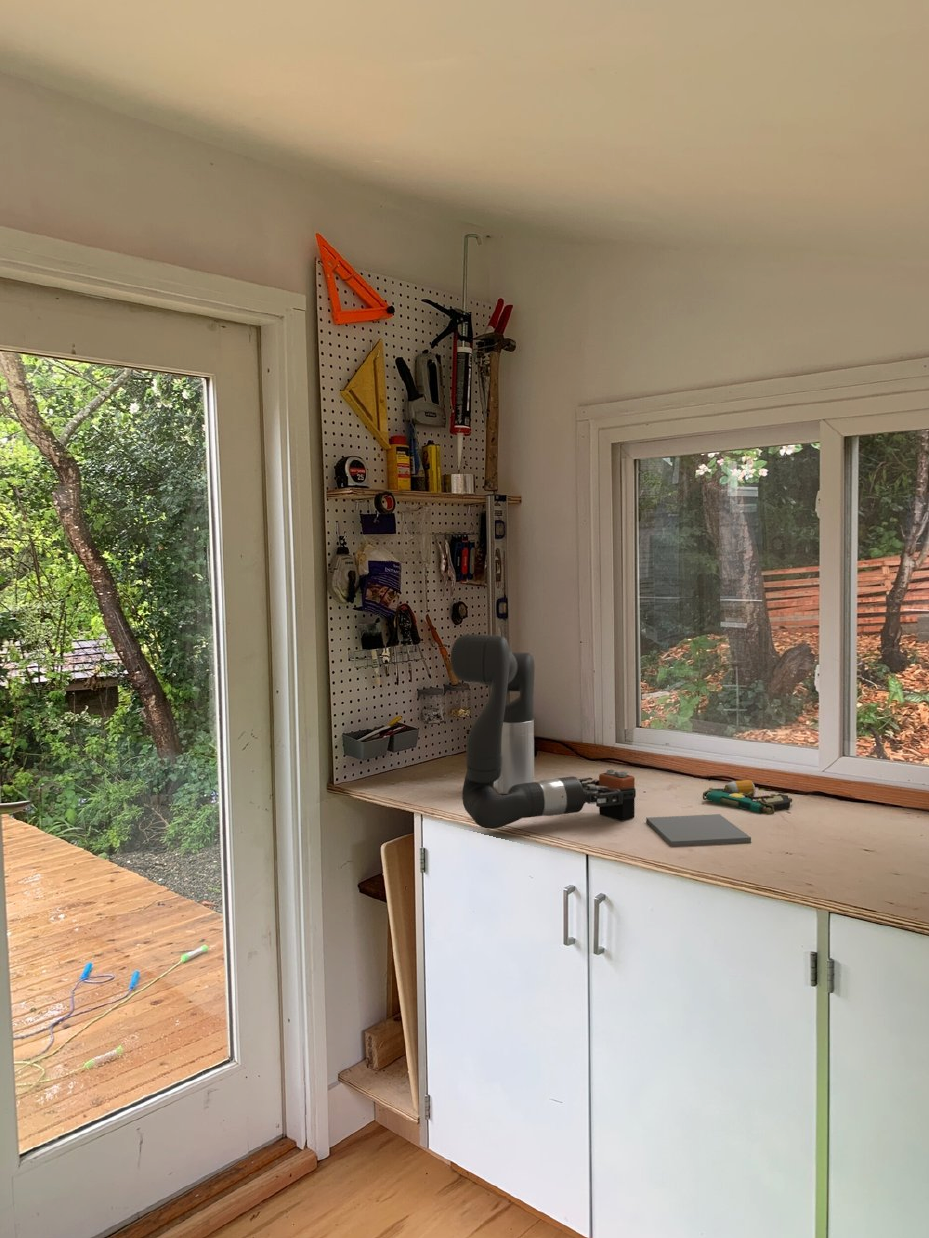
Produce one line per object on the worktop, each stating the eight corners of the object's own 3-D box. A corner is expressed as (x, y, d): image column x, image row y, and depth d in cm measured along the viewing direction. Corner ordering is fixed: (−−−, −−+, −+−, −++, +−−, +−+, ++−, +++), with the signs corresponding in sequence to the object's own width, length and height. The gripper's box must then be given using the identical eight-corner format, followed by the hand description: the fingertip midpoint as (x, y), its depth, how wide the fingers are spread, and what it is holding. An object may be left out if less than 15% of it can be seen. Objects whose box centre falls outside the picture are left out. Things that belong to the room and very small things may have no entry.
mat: (671, 846, 177) (671, 841, 177) (646, 822, 193) (646, 817, 193) (751, 842, 179) (751, 837, 179) (719, 818, 195) (719, 814, 195)
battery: (621, 822, 193) (621, 775, 193) (598, 815, 199) (598, 769, 198) (635, 818, 196) (635, 772, 195) (612, 811, 201) (611, 766, 201)
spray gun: (800, 812, 202) (752, 825, 195) (743, 791, 217) (696, 802, 209) (801, 793, 202) (753, 806, 194) (743, 773, 216) (696, 784, 208)
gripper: (572, 786, 185) (642, 778, 191) (541, 771, 198) (607, 763, 204) (573, 823, 185) (642, 813, 191) (542, 805, 199) (608, 796, 205)
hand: (624, 787), depth 198 cm, fingers closed on battery, 7 cm apart
